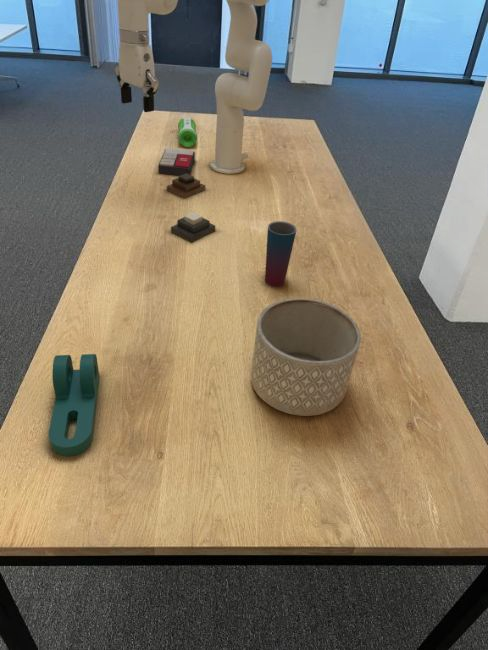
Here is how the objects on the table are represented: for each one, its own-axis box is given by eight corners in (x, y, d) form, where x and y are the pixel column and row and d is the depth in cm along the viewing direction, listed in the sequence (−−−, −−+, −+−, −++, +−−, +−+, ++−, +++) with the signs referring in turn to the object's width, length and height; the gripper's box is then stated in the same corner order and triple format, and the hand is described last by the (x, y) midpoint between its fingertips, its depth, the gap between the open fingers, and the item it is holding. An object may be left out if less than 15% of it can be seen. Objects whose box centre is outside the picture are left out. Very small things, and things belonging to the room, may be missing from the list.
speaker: (178, 133, 210) (177, 114, 205) (195, 134, 211) (195, 115, 206) (178, 148, 196) (178, 128, 191) (196, 149, 197) (197, 129, 192)
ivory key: (193, 217, 144) (193, 212, 143) (202, 222, 143) (202, 216, 142) (184, 221, 142) (184, 215, 141) (193, 226, 140) (193, 220, 139)
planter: (275, 432, 89) (286, 374, 80) (235, 364, 102) (240, 307, 93) (362, 406, 96) (381, 349, 87) (314, 345, 109) (326, 291, 100)
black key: (186, 178, 166) (186, 173, 165) (194, 181, 164) (194, 176, 163) (178, 181, 164) (178, 176, 163) (186, 184, 162) (186, 179, 161)
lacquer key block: (194, 221, 149) (195, 210, 147) (215, 230, 146) (215, 219, 144) (170, 232, 143) (170, 221, 141) (191, 242, 139) (191, 231, 137)
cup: (291, 277, 129) (299, 225, 120) (284, 291, 124) (292, 237, 115) (265, 271, 131) (272, 218, 121) (257, 284, 126) (264, 230, 116)
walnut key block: (187, 182, 171) (188, 172, 169) (205, 190, 167) (205, 180, 165) (166, 190, 165) (166, 180, 162) (184, 198, 161) (184, 188, 159)
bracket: (62, 378, 95) (56, 347, 90) (99, 377, 96) (95, 346, 91) (47, 457, 81) (39, 425, 76) (90, 454, 82) (85, 422, 77)
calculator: (157, 163, 173) (165, 146, 184) (158, 175, 175) (165, 157, 187) (189, 166, 173) (195, 149, 184) (189, 178, 176) (194, 160, 187)
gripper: (167, 42, 127) (168, 112, 138) (125, 30, 136) (129, 97, 146) (144, 44, 123) (147, 117, 133) (102, 32, 131) (107, 101, 142)
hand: (137, 106), depth 140 cm, fingers open, 9 cm apart
